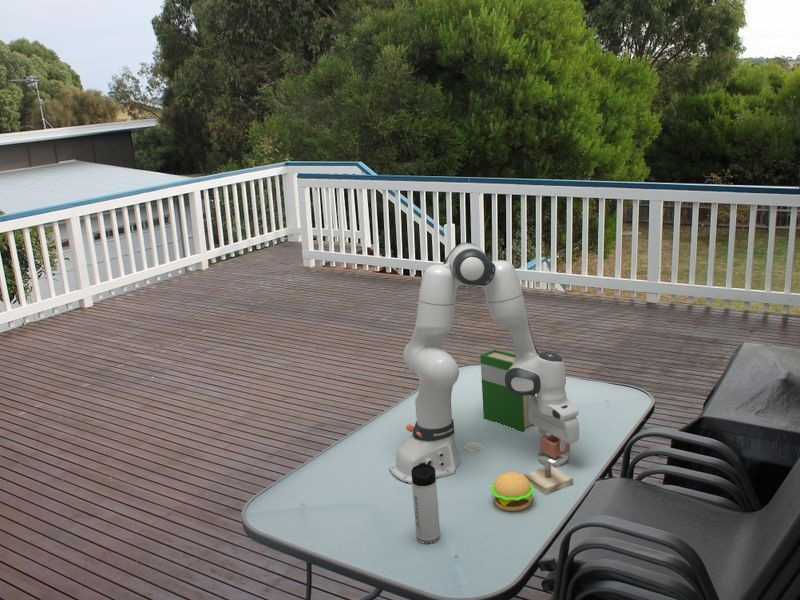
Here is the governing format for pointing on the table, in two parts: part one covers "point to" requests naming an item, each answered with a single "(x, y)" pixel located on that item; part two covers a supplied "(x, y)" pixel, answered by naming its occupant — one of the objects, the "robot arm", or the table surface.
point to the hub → (553, 459)
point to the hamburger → (512, 491)
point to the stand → (549, 479)
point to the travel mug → (425, 503)
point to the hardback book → (502, 392)
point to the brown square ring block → (552, 446)
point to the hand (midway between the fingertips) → (553, 445)
